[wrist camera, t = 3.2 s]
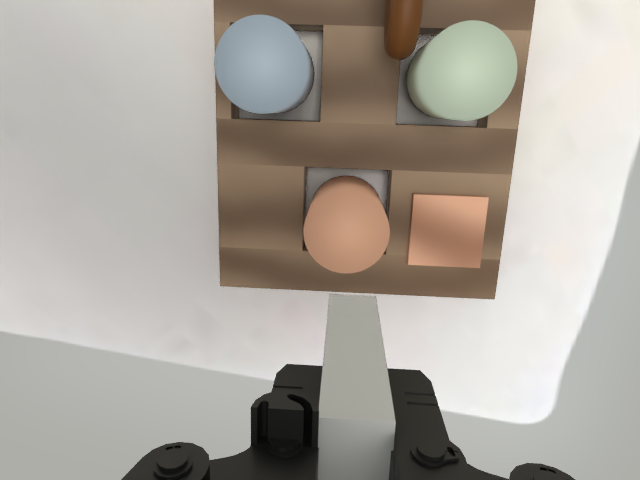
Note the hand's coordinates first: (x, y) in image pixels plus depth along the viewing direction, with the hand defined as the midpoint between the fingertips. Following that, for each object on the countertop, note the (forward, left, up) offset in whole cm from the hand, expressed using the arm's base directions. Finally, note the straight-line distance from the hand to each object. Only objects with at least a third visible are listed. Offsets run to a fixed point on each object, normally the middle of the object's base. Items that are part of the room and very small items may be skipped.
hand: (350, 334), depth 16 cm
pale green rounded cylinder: (-9, +6, -19) cm, 22 cm away
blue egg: (-9, -5, -19) cm, 22 cm away
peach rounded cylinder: (0, 0, -19) cm, 19 cm away
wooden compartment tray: (-4, +1, -21) cm, 22 cm away
